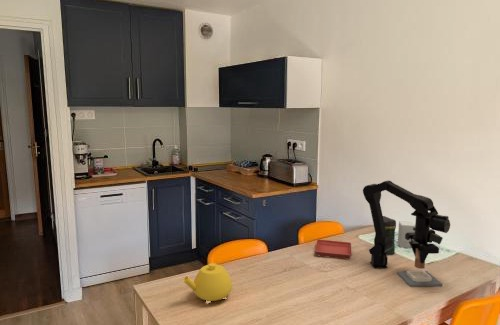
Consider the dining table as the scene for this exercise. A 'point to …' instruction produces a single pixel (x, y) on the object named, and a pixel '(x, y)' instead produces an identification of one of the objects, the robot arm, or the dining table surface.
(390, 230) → the coffee jar
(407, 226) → the supplement box
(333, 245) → the plant saucer
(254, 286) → the dining table surface
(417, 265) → the terracotta pin
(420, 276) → the board
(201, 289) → the teapot
